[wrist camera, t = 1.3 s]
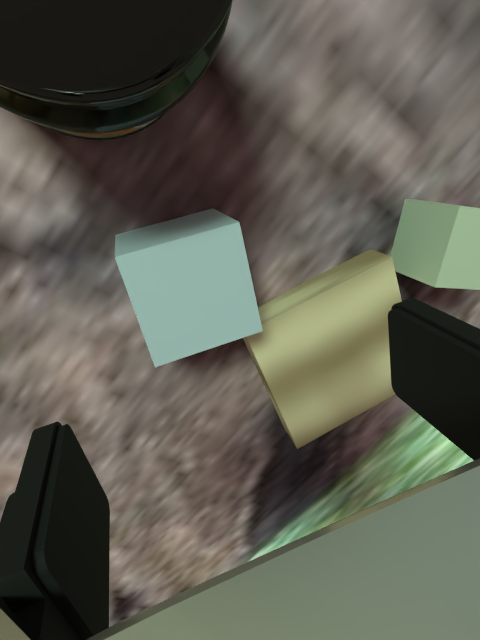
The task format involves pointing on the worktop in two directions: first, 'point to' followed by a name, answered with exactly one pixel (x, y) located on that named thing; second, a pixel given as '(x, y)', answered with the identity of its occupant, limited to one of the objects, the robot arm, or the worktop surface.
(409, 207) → the sage block
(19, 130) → the worktop surface
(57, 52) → the supplement container
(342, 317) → the maple slab
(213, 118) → the worktop surface
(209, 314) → the blue cube
